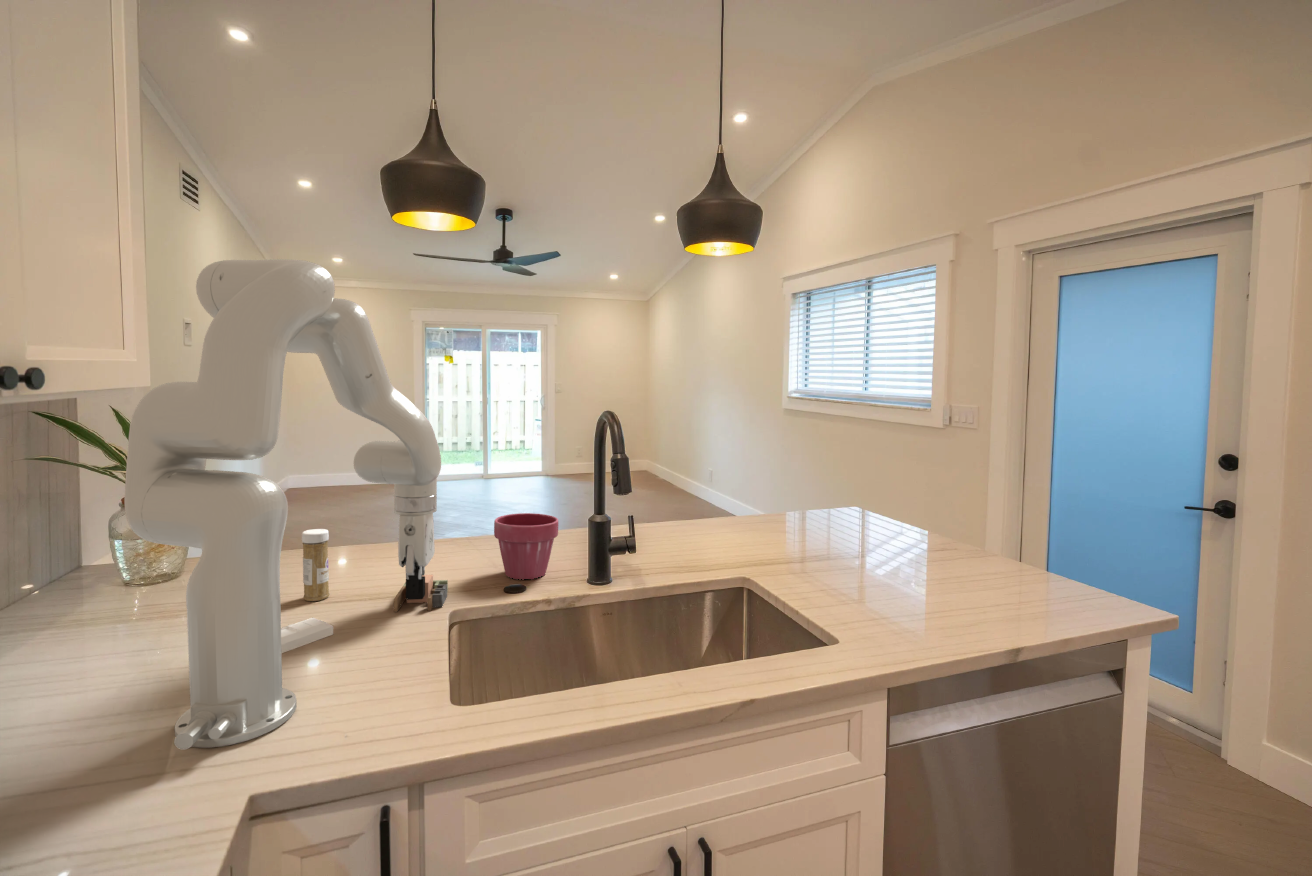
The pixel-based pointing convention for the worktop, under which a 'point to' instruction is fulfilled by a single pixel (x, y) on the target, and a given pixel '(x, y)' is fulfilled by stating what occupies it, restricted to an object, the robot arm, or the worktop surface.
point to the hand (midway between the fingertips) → (415, 597)
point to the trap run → (433, 599)
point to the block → (427, 590)
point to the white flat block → (304, 633)
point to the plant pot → (525, 543)
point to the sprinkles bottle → (315, 564)
